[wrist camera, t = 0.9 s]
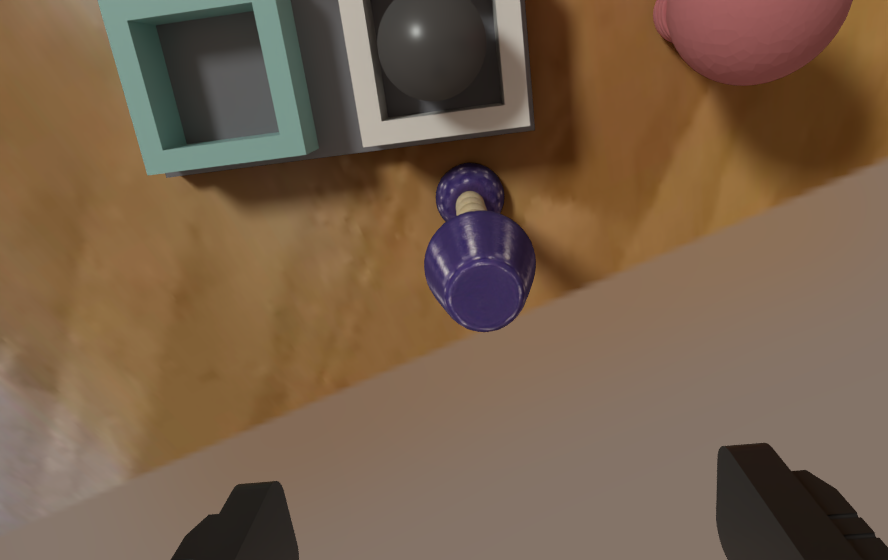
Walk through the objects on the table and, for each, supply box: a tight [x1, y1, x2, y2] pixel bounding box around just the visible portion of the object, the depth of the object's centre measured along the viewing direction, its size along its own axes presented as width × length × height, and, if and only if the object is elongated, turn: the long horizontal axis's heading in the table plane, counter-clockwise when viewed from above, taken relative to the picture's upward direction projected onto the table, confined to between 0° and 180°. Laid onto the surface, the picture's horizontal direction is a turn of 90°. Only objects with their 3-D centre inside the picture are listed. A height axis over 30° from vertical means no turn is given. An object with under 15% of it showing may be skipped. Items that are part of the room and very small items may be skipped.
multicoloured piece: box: [98, 0, 535, 178], centre depth 31 cm, size 22×10×8 cm, turn 97°
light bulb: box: [653, 0, 853, 86], centre depth 28 cm, size 7×7×12 cm
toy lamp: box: [424, 163, 536, 332], centre depth 29 cm, size 5×5×17 cm
